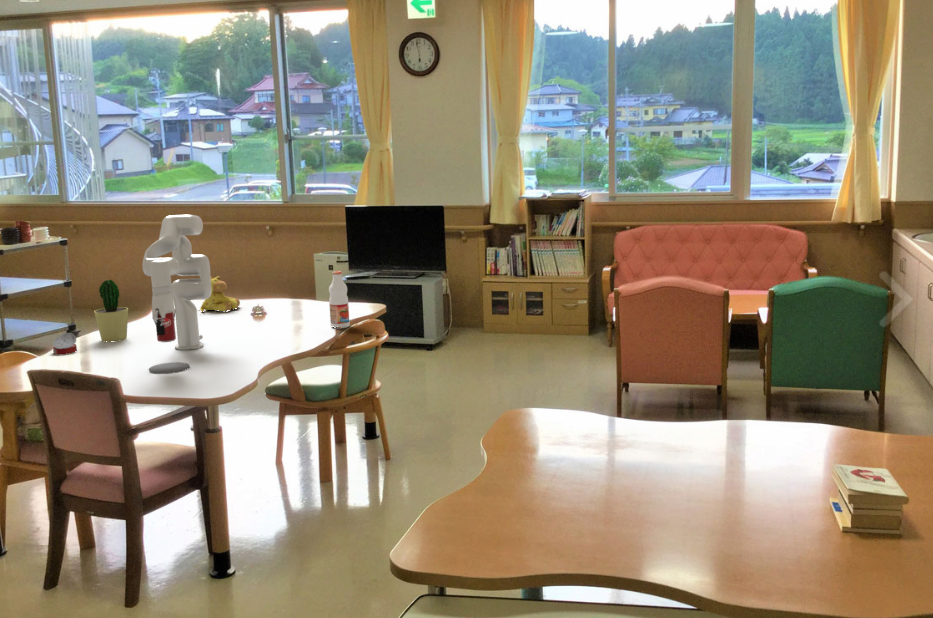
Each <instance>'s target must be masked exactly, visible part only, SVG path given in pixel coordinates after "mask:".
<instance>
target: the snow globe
mask: <svg viewBox="0 0 933 618" xmlns="http://www.w3.org/2000/svg"><path fill="white" fill-rule="evenodd" d="M52 342H53V343H52V346H53V347H52V352H53V354H54V355H56V354H63V355H67V354H66V353H70V354H73V353H72V352H74V353H76V352H75V351H77V352H78V347H77V344H76V343H77V336H76V335H75V333H72V332H65V333H62V334H60V335H58V336H57V337H56V338H55V339H54V340H53V341H52Z"/></svg>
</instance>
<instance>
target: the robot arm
mask: <svg viewBox="0 0 933 618" xmlns="http://www.w3.org/2000/svg"><path fill="white" fill-rule="evenodd" d="M203 229H204V224H203V220H202V218H201V217H200V216H199V215H194V214H175V215H174V214H173V215H167V216H165V217H164V218H163V219H162V221H161V227H160V231H159V237H158V239H157V240H156V241H155V242H153V243H152V244H151V245H150V246H148V247H147V248H146V250H145V252H144V255H143V260H142V272H143V274H144V275H145V276H147V277H150V278H151V279H150V280H151V281H150V282H151V290H152V297H151V314H152V318H151V319H152V320H153V322H154V325H155V328H156V329H157V331H156V336H157V335H165V331H164V325H163V321H164V319H165V315H166V313H169V312H172V311H173V313H174V322H175V324H176V325H175V328H176V334H177V335H176V336H177V337H176V338H177V344H175V345H174V349H175V350H177V351H179V350H180V351H190V349H191V350H197V349H200V348H203V347H204V343H203V342H202V341H200V340H202V339H203V335H202V334H200V332H199V331H200V329H199V319H198V309H197V306H196V305H195V304H194V302H192V301H194V300H205V299H207V298H209V297H210V296H211V277H212V276H211V264H210V260H209V257H208V256H207V255H205V254H198V253H197V254H193V251H192V250H193V249H192V243H191V241H190V240H189V239H188V237H187V236H200V235H201V234H202V232H203ZM169 253H172V255H171V256H172V257H168V256H167V257H162V256H164V255H166V254H169ZM175 275H176V276H178V277H179V276H180V277H190V276H194V277H195V276H199V278H181V279H176V280H174V281H173V282H172V276H175ZM159 314H160V316H161V318H158V315H159ZM159 320H161V322H160V321H159Z"/></svg>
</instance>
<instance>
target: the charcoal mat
mask: <svg viewBox="0 0 933 618" xmlns="http://www.w3.org/2000/svg"><path fill="white" fill-rule="evenodd" d="M187 368H188V369H190V363H188V362H181V361H180V362H179V361H177V362H175V361H174V362H172V361H171V362H164V363H159V364H155V365H152V366H150V367H149V368H148V372H149V371H150V372H149V373H151V372H153V373H152V374H156V373H165V374H174V373H173V372H175V373H180V372H183V370H184V371H186V370H188V369H187ZM185 369H186V370H185ZM179 371H180V372H179Z"/></svg>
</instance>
